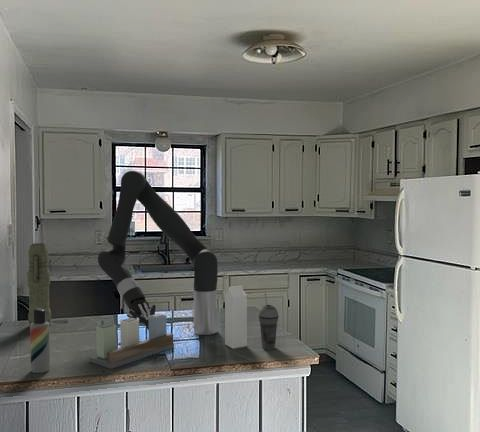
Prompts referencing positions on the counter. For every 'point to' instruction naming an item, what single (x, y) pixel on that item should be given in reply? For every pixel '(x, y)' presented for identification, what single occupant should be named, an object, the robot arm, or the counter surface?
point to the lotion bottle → (40, 342)
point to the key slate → (157, 326)
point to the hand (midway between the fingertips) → (152, 329)
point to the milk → (236, 317)
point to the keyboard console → (134, 352)
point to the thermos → (38, 280)
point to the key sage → (105, 339)
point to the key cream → (129, 332)
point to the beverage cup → (268, 325)
